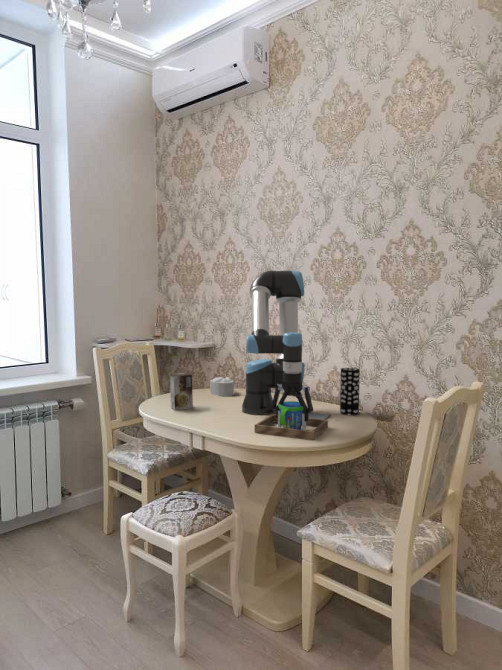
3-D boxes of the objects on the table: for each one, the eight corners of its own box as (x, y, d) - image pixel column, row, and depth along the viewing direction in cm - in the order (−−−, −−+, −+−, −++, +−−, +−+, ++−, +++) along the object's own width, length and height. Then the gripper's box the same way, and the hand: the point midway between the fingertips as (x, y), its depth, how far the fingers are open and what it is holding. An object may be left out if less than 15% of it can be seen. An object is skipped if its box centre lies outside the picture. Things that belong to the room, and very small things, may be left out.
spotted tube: (358, 415, 228) (359, 370, 226) (339, 414, 230) (340, 370, 228) (358, 411, 236) (359, 368, 234) (340, 410, 238) (341, 367, 236)
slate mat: (286, 420, 221) (286, 418, 220) (297, 412, 234) (297, 411, 234) (320, 423, 214) (320, 422, 214) (330, 415, 228) (330, 414, 228)
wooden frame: (254, 432, 202) (254, 425, 201) (272, 421, 219) (272, 414, 218) (313, 440, 192) (313, 432, 191) (327, 427, 209) (328, 420, 209)
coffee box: (188, 405, 248) (188, 372, 246) (193, 408, 242) (192, 374, 240) (170, 407, 244) (169, 373, 242) (174, 410, 238) (173, 375, 236)
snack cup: (291, 436, 196) (291, 409, 195) (269, 431, 203) (269, 405, 202) (313, 427, 208) (314, 402, 207) (292, 422, 215) (292, 398, 214)
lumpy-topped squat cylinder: (222, 391, 283) (222, 375, 282) (238, 394, 273) (238, 378, 273) (207, 393, 276) (207, 377, 275) (223, 397, 266) (223, 380, 265)
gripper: (262, 371, 204) (262, 426, 207) (316, 375, 195) (315, 433, 197) (269, 368, 211) (269, 422, 213) (322, 372, 202) (321, 428, 204)
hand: (291, 427), depth 205 cm, fingers closed on snack cup, 9 cm apart
